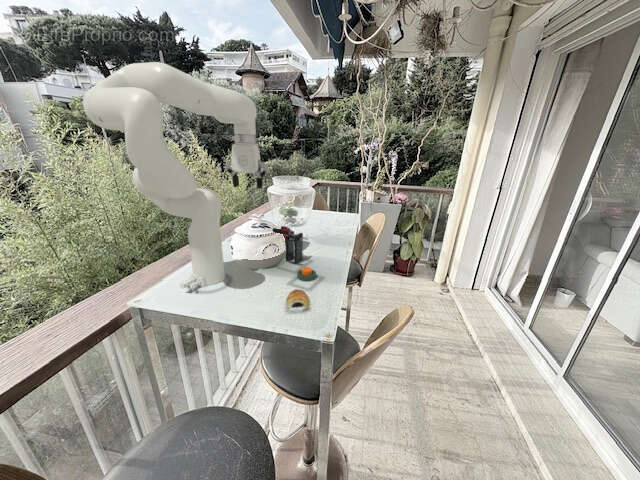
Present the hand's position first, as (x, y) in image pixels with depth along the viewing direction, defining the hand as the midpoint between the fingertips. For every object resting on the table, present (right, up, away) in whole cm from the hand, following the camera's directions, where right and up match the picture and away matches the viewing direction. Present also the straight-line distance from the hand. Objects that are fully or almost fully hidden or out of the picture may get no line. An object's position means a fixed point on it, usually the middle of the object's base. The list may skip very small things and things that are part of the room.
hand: (247, 187), depth 103 cm
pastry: (+21, -40, -23) cm, 51 cm away
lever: (+16, -20, -6) cm, 26 cm away
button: (+23, -32, -11) cm, 41 cm away
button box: (+23, -35, -10) cm, 43 cm away
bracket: (+18, -30, +2) cm, 35 cm away
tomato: (+10, -21, +25) cm, 35 cm away
